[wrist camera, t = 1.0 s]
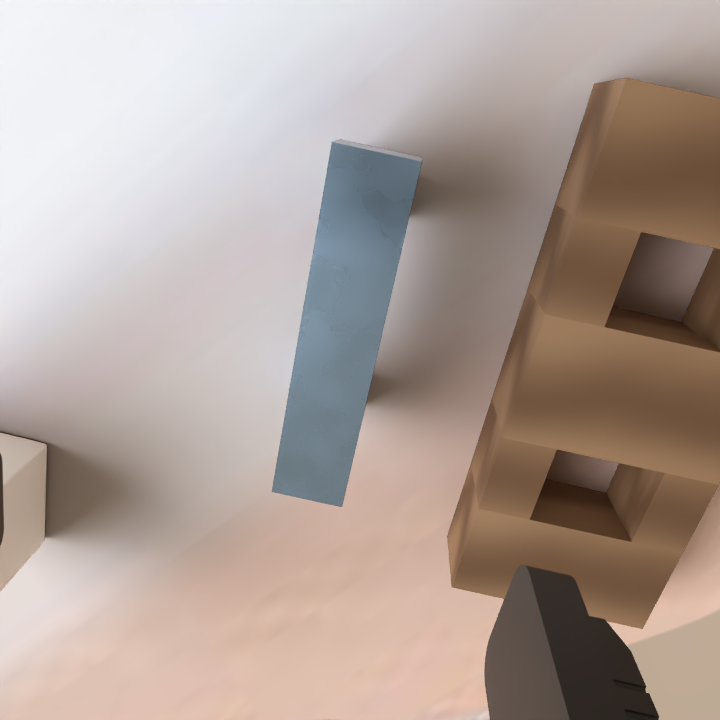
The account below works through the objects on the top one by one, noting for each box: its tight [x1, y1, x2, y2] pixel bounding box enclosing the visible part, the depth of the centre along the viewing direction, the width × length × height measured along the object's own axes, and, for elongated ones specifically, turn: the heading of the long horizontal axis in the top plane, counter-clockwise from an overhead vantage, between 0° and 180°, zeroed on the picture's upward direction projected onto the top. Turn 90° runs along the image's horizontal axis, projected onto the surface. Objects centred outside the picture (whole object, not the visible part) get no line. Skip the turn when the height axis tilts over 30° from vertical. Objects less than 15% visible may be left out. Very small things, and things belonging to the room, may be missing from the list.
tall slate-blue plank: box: [272, 139, 422, 507], centre depth 25 cm, size 14×3×8 cm, turn 169°
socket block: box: [447, 78, 720, 629], centre depth 27 cm, size 24×10×4 cm, turn 169°
